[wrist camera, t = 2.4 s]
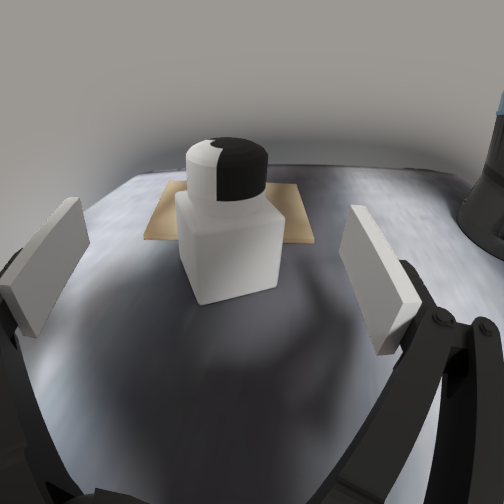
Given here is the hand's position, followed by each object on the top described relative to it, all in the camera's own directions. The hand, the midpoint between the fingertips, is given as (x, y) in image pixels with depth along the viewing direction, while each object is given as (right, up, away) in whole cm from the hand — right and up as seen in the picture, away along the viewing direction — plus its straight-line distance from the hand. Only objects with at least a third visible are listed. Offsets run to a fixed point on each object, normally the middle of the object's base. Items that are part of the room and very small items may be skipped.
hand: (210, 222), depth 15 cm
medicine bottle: (0, -3, +15) cm, 15 cm away
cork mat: (-1, +4, +24) cm, 25 cm away
